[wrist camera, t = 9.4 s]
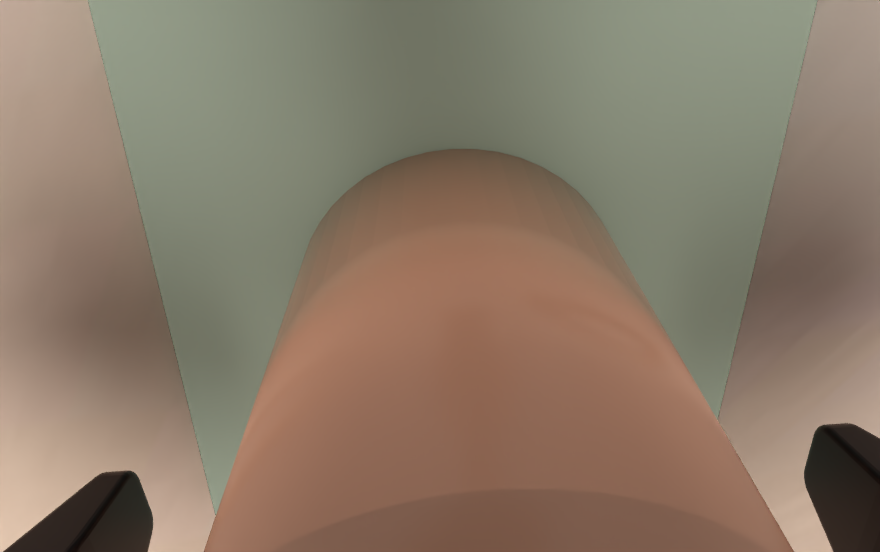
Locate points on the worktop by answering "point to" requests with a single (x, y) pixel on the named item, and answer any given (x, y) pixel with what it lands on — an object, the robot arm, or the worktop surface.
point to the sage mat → (441, 147)
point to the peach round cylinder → (479, 386)
